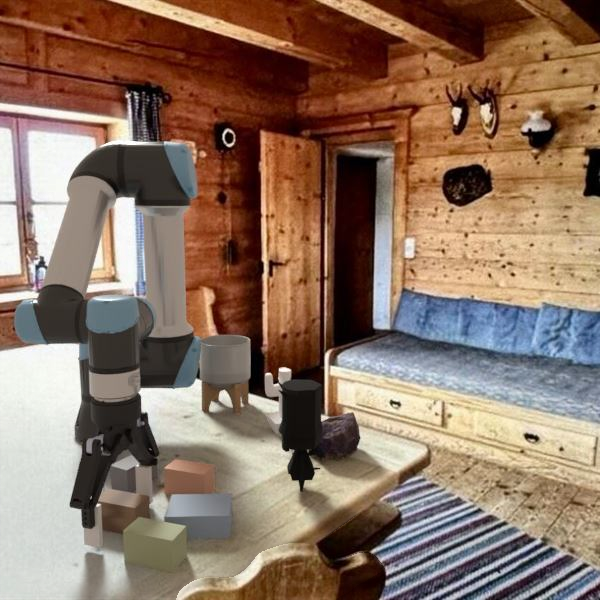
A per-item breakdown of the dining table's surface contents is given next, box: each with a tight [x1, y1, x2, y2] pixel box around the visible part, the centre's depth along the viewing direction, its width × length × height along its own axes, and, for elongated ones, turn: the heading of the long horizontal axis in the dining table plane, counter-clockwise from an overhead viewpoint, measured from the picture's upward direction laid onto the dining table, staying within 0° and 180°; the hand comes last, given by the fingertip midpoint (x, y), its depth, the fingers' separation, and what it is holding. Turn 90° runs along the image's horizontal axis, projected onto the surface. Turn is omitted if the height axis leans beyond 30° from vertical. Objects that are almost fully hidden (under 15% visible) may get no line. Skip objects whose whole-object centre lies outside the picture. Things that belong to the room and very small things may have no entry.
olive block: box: [122, 517, 188, 574], centre depth 83 cm, size 8×4×5 cm, turn 73°
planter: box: [199, 334, 252, 415], centre depth 146 cm, size 13×13×18 cm
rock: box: [307, 411, 361, 461], centre depth 118 cm, size 12×9×10 cm
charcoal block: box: [109, 454, 159, 493], centre depth 105 cm, size 8×4×5 cm, turn 153°
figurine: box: [264, 366, 292, 437], centre depth 130 cm, size 7×9×15 cm
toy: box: [276, 379, 327, 493], centre depth 103 cm, size 8×9×20 cm
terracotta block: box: [163, 458, 216, 496], centre depth 103 cm, size 8×4×5 cm, turn 72°
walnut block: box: [97, 488, 151, 535], centre depth 91 cm, size 8×4×5 cm, turn 72°
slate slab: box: [163, 492, 233, 539], centre depth 92 cm, size 10×7×4 cm
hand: (120, 522), depth 91 cm, fingers open, 13 cm apart
